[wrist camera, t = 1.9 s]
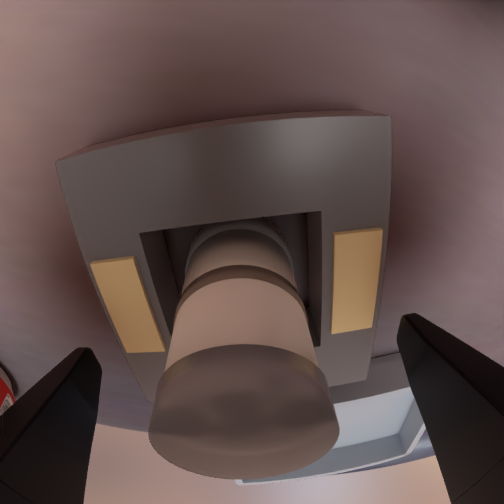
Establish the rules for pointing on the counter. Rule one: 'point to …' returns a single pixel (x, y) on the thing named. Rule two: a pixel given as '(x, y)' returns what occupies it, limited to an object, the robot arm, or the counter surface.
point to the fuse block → (236, 208)
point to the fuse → (241, 362)
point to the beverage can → (5, 392)
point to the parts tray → (367, 423)
